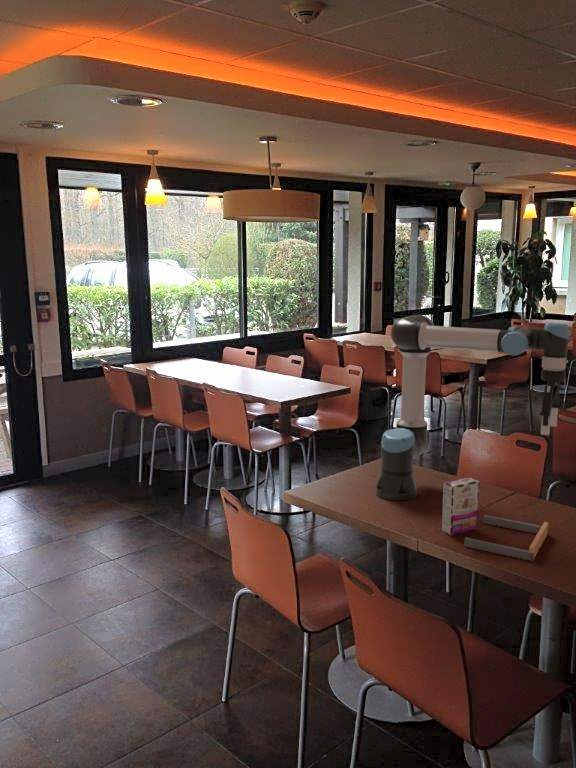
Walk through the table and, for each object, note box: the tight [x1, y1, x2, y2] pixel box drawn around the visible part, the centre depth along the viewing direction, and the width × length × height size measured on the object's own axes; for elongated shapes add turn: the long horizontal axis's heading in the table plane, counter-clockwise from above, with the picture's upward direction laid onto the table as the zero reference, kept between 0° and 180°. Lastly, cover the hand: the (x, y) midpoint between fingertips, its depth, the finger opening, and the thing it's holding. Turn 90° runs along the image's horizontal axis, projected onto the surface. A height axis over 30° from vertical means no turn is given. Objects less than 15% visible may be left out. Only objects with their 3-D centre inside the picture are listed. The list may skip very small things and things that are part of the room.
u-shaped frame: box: [463, 514, 549, 562], centre depth 211 cm, size 20×22×4 cm
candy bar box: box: [441, 476, 480, 536], centre depth 217 cm, size 11×5×16 cm, turn 117°
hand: (548, 430), depth 233 cm, fingers open, 13 cm apart
